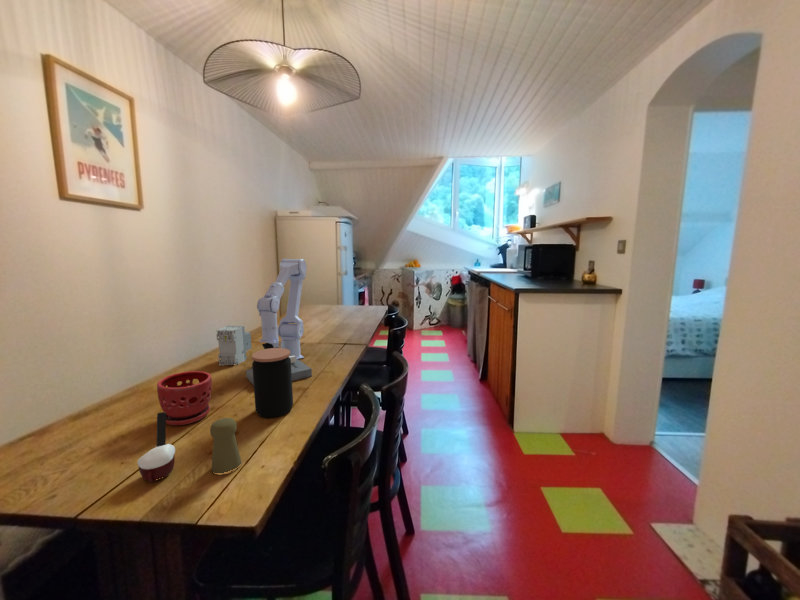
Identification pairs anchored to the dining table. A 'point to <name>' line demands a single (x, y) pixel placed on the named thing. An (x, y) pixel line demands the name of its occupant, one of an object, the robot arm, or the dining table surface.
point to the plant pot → (185, 397)
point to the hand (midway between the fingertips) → (271, 360)
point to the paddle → (293, 359)
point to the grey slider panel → (297, 370)
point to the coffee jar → (272, 382)
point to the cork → (224, 446)
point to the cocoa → (158, 455)
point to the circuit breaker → (233, 344)
